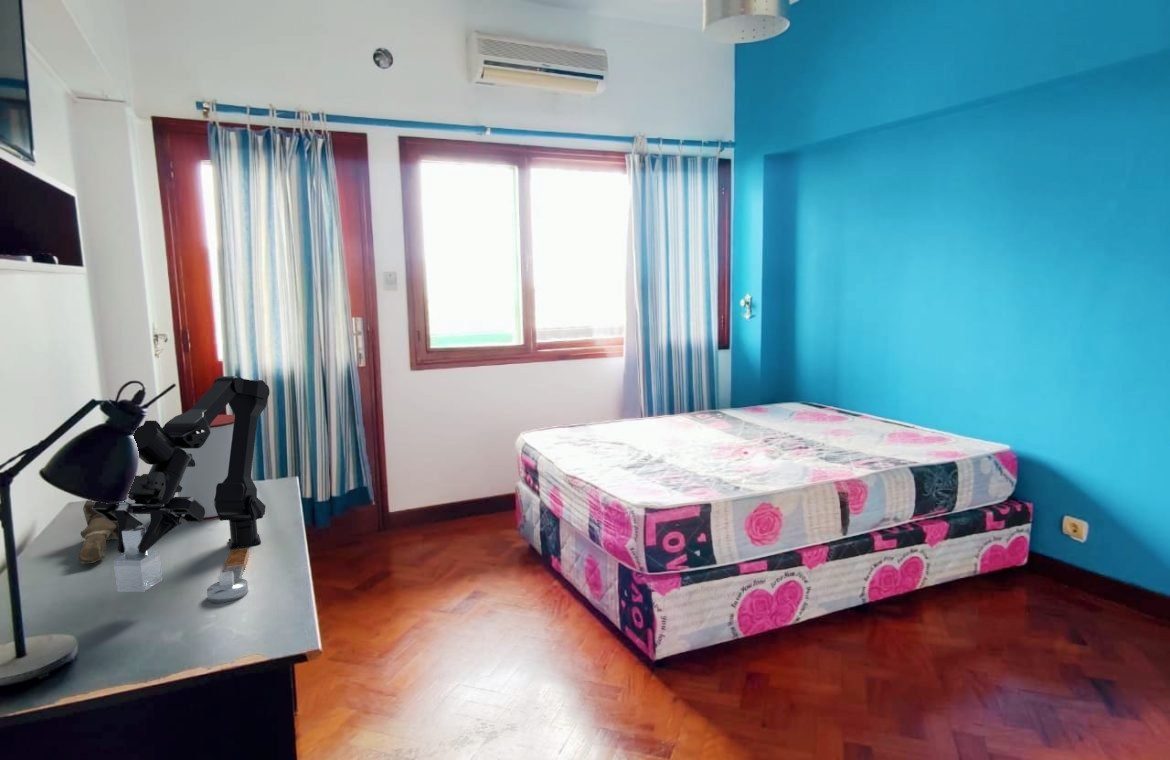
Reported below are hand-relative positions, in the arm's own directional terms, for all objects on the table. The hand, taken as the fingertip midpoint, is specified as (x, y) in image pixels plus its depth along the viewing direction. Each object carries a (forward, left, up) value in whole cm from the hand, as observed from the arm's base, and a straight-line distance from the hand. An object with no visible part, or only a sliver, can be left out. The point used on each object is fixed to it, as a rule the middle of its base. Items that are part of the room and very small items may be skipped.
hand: (130, 552), depth 120 cm
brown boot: (-42, -9, -13) cm, 45 cm away
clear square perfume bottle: (-1, +1, -7) cm, 7 cm away
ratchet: (-8, +16, -12) cm, 22 cm away
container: (-61, +15, -13) cm, 64 cm away
